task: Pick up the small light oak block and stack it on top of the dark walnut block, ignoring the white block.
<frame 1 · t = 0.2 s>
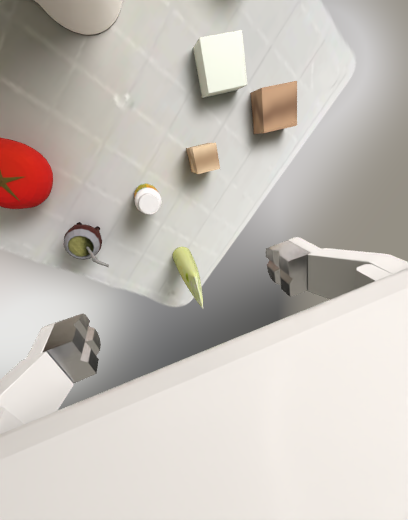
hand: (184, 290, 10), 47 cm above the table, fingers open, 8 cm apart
supplement bottle: (146, 195, 53), on the table
mate gourd: (89, 233, 53), on the table
white block: (216, 70, 47), on the table
walnut block: (267, 110, 53), on the table
tomato: (25, 172, 45), on the table
tube: (181, 253, 62), on the table
oak block: (199, 157, 53), on the table
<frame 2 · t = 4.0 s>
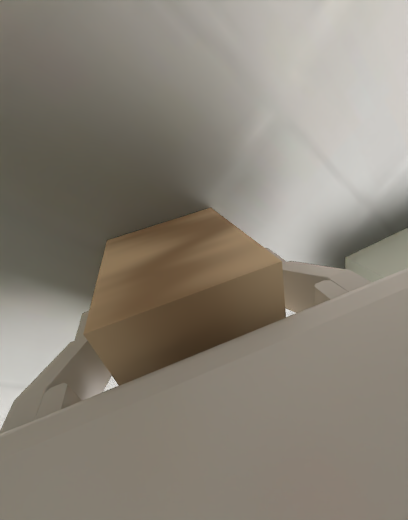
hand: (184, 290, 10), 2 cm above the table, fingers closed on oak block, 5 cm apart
white block: (388, 277, 18), on the table
oak block: (175, 268, 12), on the table, touching gripper
when the fingers open (8 cm above the table, at t = 8.5 s): oak block drops 1 cm, resting on walnut block.
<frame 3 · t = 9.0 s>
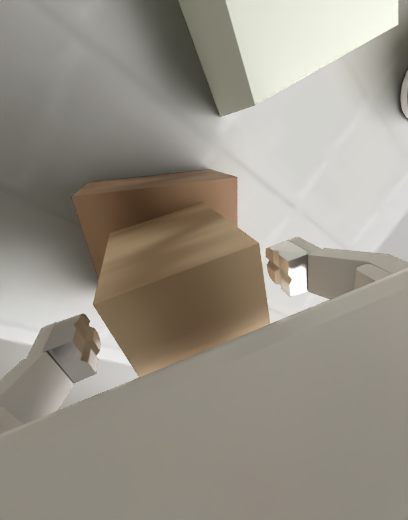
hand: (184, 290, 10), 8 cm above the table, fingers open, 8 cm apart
white block: (252, 8, 13), on the table
walnut block: (161, 231, 17), on the table, touching oak block
oak block: (172, 258, 13), point 5 cm above the table, touching walnut block
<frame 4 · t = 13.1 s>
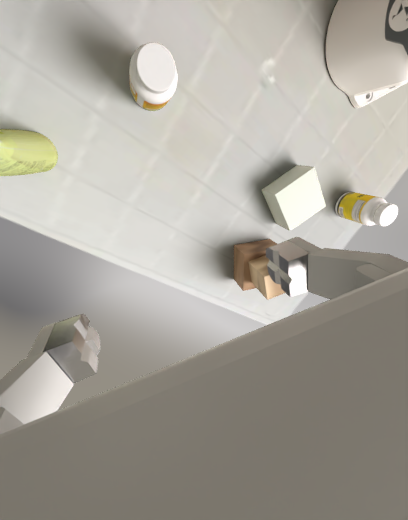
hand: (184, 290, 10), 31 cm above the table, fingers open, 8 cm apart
supplement bottle: (149, 88, 32), on the table
white block: (285, 195, 45), on the table
supplement bottle 2: (344, 204, 50), on the table
walnut block: (250, 258, 49), on the table, touching oak block
tube: (39, 151, 31), on the table
oak block: (261, 267, 45), point 5 cm above the table, touching walnut block
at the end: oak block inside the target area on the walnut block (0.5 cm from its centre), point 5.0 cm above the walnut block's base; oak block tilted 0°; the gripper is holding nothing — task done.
